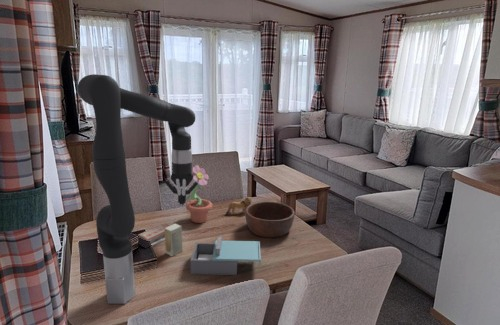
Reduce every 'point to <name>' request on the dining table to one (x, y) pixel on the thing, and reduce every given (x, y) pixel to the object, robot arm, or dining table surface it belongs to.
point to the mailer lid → (236, 251)
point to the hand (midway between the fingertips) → (182, 203)
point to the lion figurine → (240, 205)
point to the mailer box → (210, 261)
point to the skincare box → (173, 239)
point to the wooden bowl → (269, 218)
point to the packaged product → (154, 234)
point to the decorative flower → (198, 205)
